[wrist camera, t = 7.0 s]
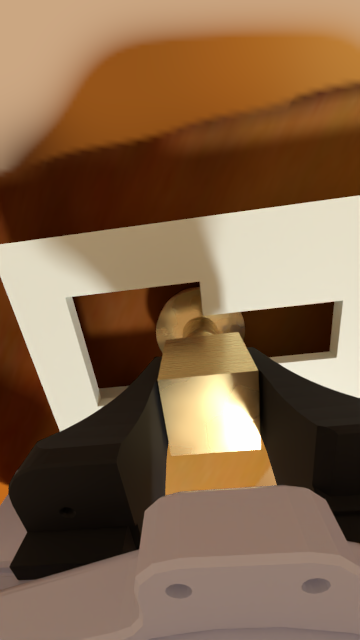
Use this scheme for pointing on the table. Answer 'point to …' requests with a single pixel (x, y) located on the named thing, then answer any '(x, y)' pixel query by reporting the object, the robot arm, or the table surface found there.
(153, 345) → the table surface
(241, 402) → the keyhole peg
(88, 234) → the keyhole plate
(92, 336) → the table surface
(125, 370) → the table surface
